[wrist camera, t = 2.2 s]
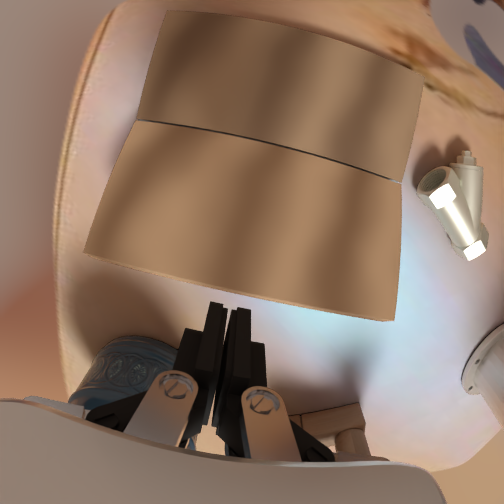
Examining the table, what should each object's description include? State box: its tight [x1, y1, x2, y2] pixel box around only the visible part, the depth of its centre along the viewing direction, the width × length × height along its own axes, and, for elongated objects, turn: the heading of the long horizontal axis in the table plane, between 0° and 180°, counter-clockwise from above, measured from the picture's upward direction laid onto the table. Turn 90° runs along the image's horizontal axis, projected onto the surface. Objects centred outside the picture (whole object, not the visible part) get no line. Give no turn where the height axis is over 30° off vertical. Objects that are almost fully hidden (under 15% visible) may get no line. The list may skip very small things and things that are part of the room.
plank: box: [84, 120, 402, 322], centre depth 19 cm, size 20×10×2 cm
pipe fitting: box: [416, 150, 489, 261], centre depth 21 cm, size 8×4×7 cm
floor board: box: [137, 11, 425, 182], centre depth 19 cm, size 20×9×2 cm, turn 77°
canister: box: [68, 336, 198, 451], centre depth 22 cm, size 13×13×18 cm
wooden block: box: [288, 403, 371, 456], centre depth 23 cm, size 4×11×18 cm, turn 102°
